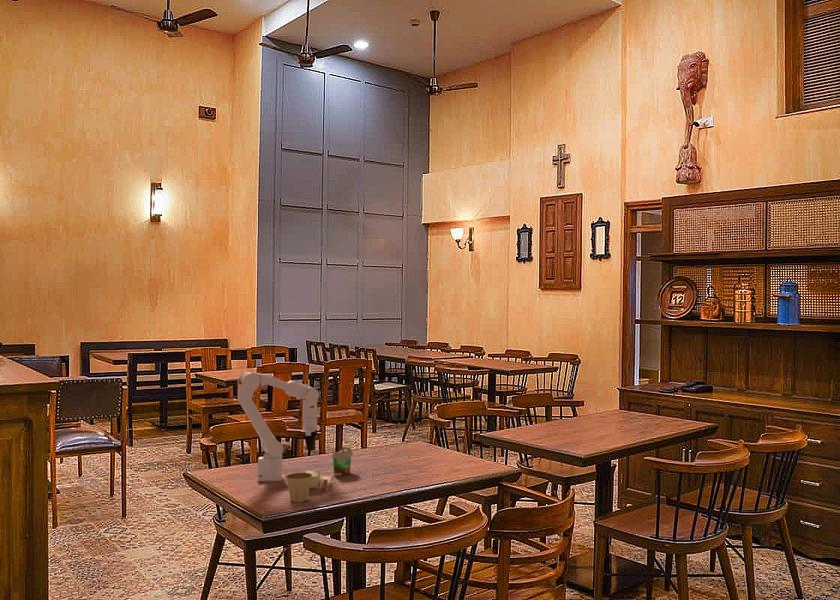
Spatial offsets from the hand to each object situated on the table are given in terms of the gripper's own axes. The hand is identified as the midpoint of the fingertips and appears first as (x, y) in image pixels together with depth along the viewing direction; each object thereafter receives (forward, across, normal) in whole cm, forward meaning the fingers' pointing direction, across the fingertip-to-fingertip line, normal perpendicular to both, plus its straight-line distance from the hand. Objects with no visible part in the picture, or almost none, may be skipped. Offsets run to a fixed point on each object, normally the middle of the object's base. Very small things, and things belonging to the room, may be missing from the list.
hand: (310, 450), depth 283 cm
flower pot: (+10, -36, 0) cm, 37 cm away
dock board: (+10, -16, -3) cm, 19 cm away
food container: (+10, -1, -14) cm, 17 cm away
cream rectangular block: (+10, -22, -3) cm, 24 cm away
